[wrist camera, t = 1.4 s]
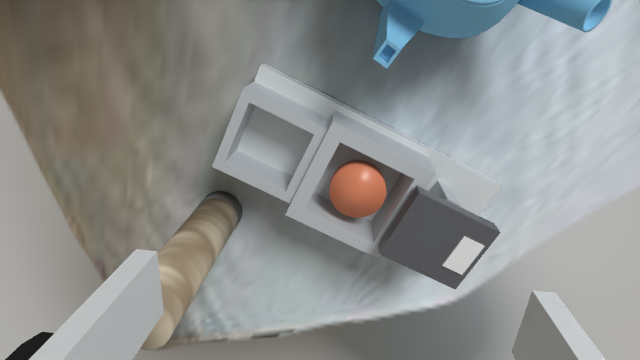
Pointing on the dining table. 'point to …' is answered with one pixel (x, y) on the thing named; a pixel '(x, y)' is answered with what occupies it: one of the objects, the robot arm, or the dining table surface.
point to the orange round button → (357, 188)
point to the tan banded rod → (191, 259)
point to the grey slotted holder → (334, 158)
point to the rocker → (437, 238)
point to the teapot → (469, 19)
